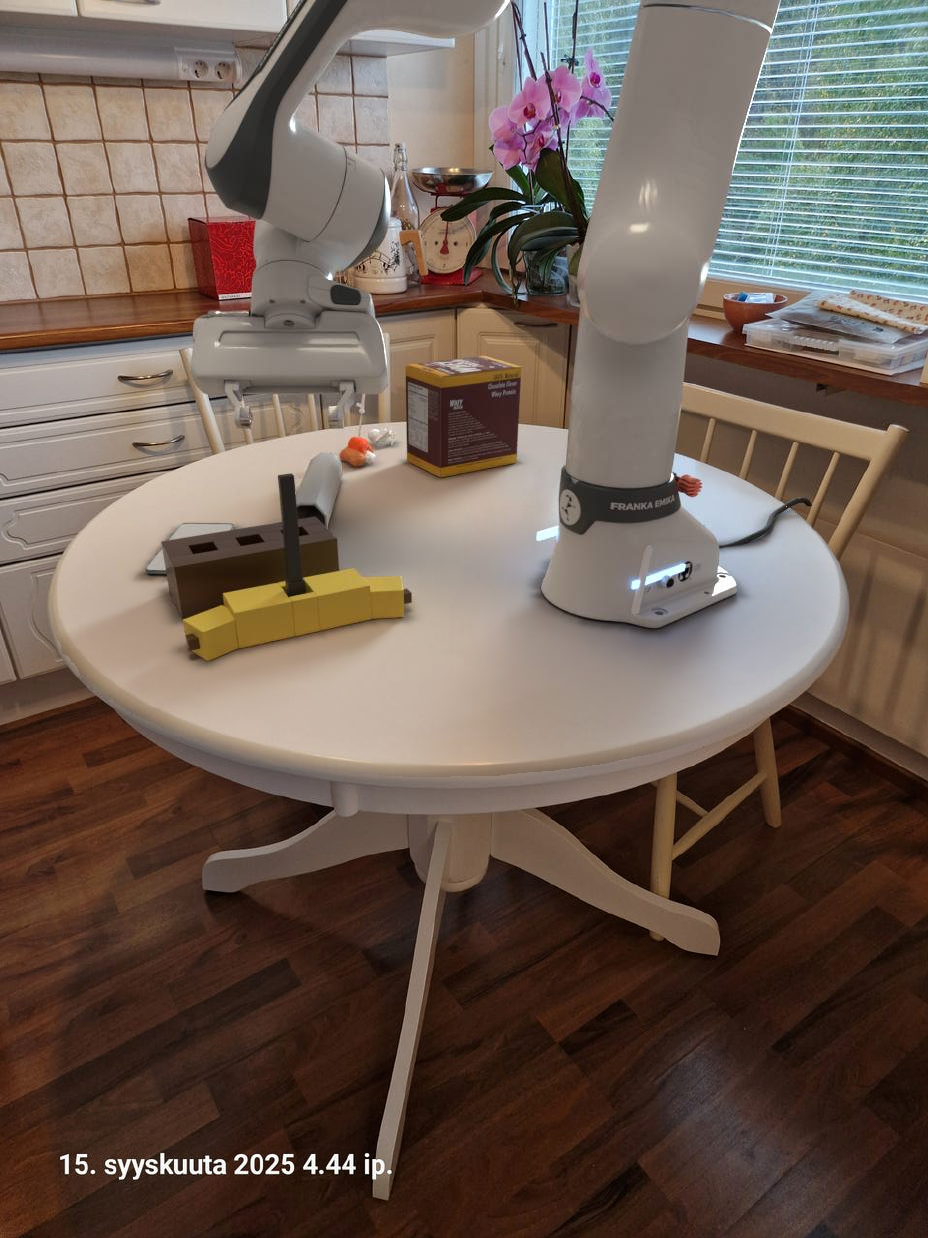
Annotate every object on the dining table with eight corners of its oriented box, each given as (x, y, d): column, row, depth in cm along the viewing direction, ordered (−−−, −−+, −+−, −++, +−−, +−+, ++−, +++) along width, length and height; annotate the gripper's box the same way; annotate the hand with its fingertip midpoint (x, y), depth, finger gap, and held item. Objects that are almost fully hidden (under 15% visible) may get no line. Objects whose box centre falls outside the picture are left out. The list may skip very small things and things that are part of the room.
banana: (181, 637, 82) (175, 602, 80) (393, 592, 92) (393, 560, 90) (193, 664, 77) (187, 627, 76) (415, 614, 87) (415, 580, 85)
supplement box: (518, 462, 135) (523, 365, 127) (439, 478, 127) (440, 375, 120) (482, 447, 142) (484, 354, 135) (405, 461, 135) (404, 363, 127)
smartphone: (235, 523, 107) (204, 571, 94) (235, 527, 108) (205, 575, 94) (181, 522, 107) (143, 570, 94) (182, 526, 108) (144, 574, 94)
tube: (304, 453, 124) (278, 509, 102) (337, 442, 124) (318, 496, 102) (318, 485, 127) (295, 547, 104) (350, 474, 126) (334, 534, 104)
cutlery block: (169, 591, 91) (160, 541, 88) (318, 563, 98) (315, 516, 96) (182, 619, 85) (173, 566, 83) (340, 587, 93) (337, 538, 90)
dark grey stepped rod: (305, 619, 86) (293, 472, 78) (308, 623, 85) (296, 475, 77) (289, 623, 85) (274, 474, 77) (291, 627, 84) (278, 477, 77)
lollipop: (381, 452, 139) (379, 380, 133) (373, 469, 130) (370, 393, 125) (345, 451, 139) (342, 379, 133) (335, 468, 131) (330, 392, 125)
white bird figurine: (369, 433, 146) (377, 408, 144) (393, 443, 147) (402, 419, 145) (361, 446, 139) (370, 420, 137) (387, 456, 140) (396, 431, 138)
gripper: (186, 291, 84) (178, 409, 80) (385, 292, 86) (387, 409, 82) (201, 329, 90) (194, 441, 86) (387, 330, 92) (389, 440, 88)
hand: (289, 426), depth 84 cm, fingers open, 8 cm apart
